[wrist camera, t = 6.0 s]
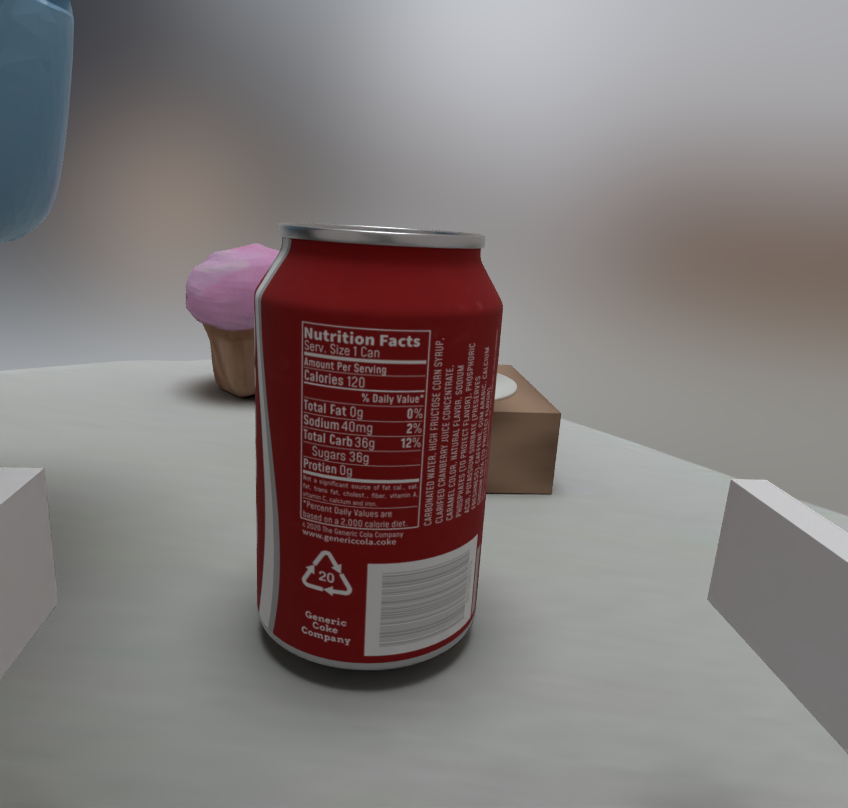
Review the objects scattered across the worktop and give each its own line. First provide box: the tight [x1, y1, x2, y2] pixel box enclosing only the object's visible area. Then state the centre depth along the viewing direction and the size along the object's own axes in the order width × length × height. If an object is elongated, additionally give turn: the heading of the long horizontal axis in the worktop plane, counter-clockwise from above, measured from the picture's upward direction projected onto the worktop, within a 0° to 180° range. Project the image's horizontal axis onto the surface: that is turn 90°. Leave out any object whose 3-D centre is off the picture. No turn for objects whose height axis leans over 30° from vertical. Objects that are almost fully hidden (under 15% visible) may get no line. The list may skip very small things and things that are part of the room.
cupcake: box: [186, 243, 280, 397], centre depth 45 cm, size 9×9×10 cm
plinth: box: [486, 365, 561, 494], centre depth 35 cm, size 10×10×4 cm
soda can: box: [254, 223, 503, 671], centre depth 20 cm, size 7×7×12 cm
